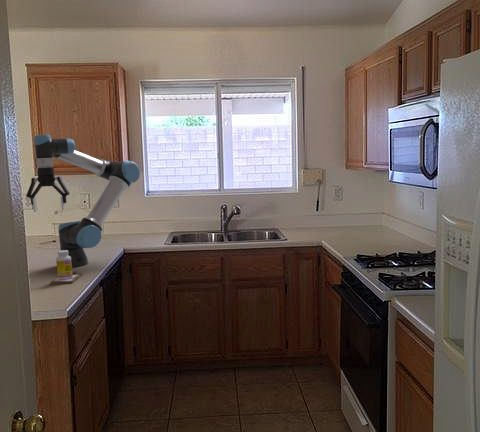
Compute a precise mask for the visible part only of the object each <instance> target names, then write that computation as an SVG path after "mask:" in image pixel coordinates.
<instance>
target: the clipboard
mask: <svg viewBox="0 0 480 432" xmlns="http://www.w3.org/2000/svg"><path fill="white" fill-rule="evenodd" d="M72 275H73V277H72V278H70V279H64V280H61V279H58V276H57V277H56V278H55V279H53V280H51V281H50V283H49V285H50V286H51V285H52V286H54V285H64V284H65V285H68V284H69V285H70V284H74V283H75V282H76V281H77V280H78V279H80V277H82V276H83V273H82V272H81V273H78V271H77V270H76V271H75V270H74V271H73V270H72Z"/></svg>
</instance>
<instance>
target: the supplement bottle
mask: <svg viewBox="0 0 480 432" xmlns="http://www.w3.org/2000/svg"><path fill="white" fill-rule="evenodd" d="M68 253H69V252H68V250H62V251H61V250H59V251H57V255H58V256H57V257H56V260H55V261H56V270H57V271H56V273H57V274H56V275H57V277H58V279H61V280H64V279H70V278H72V277H73V275H72V271H73V267H72V262H71V257H70V256H68Z"/></svg>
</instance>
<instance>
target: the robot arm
mask: <svg viewBox="0 0 480 432" xmlns="http://www.w3.org/2000/svg"><path fill="white" fill-rule="evenodd" d="M33 141H34V149H35V160H36V161H35V162H36V167H37V169H36V171H37V177H31V179H30V185H29V188H28V190H27V193H26V196H25V197H26V198H29V199H30V205H31V206H33V207H32V209H33V213H36V212H38V203H37V197H36V196H37V194H38V193H39V191H40V190H41V188H43V187H44V188H45V187H52V188H53V189H55V190H56V192H58V193H59V194H60V205H61V211H66V205H65V204H66V203H67V196H70V194H71V193H70V191H69V190H68V188H67V187H66V185H65V183H64V182H63V178H62V176H57V177H56V176H55V168H54V158H55V159H58V160H61V161H64V162H66V163H68V164H71V165H74V166H77V167H78V168H81V169H84V170H87V171H89V172H92V173H94V174H95V175H96V176H98V177H100V178H102V179H105V180H107V181H109V182H108V184H107V185H106V187H105V189H104V190H103V192H102V193H101V195H100V196H99V198H98V199H97V201H96V202H95V204H94V206H93V207H92V209H91V210H90V212H89V213H88V215H87V216H85V217H82V218H81V220H78V221H71V222H64V223H60V224H58V230H57V231H58V239H59V248H60V251H62V250H68V252H69V253H68V256H70V257H71V262H72V268H75V267H76V268H77V267H82V266H86V265H88V263H89V259H88V256H87V255H86V252H85V250H84V249H92V248H94V247H96V246H98V245H99V243H100V242H101V240H102V231H103V224H104V222H105V220H106V219H107V217H108V215H109V214H110V213H111V211H112V210H113V207H114V206H115V204H116V203H117V201H118V200H119V198H120V197H121V195H122V194H123V192H124V190H128V189H129V187H130V186H131V185H132V184H133V183H135V182H137V181H138V180H139V179H140V175H141V173H140V172H141V171H140V167H139V166H138V164H137V163H136V162H134V161H133V160H124V161H110V160H105V159H98V158H96V157H93V156H91V155H89V154H86V153H83V152H81V151H78V150H76V144H75V141H74V139H72V138H68V137H67V138H52V136H51V135H50V134H36V135H34V140H33ZM55 181H56V182H58V184H59V185H60V187H59V185H57V183H56V182H55ZM37 182H38V185H37V187H36V188H35V185H36V183H37Z"/></svg>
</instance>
